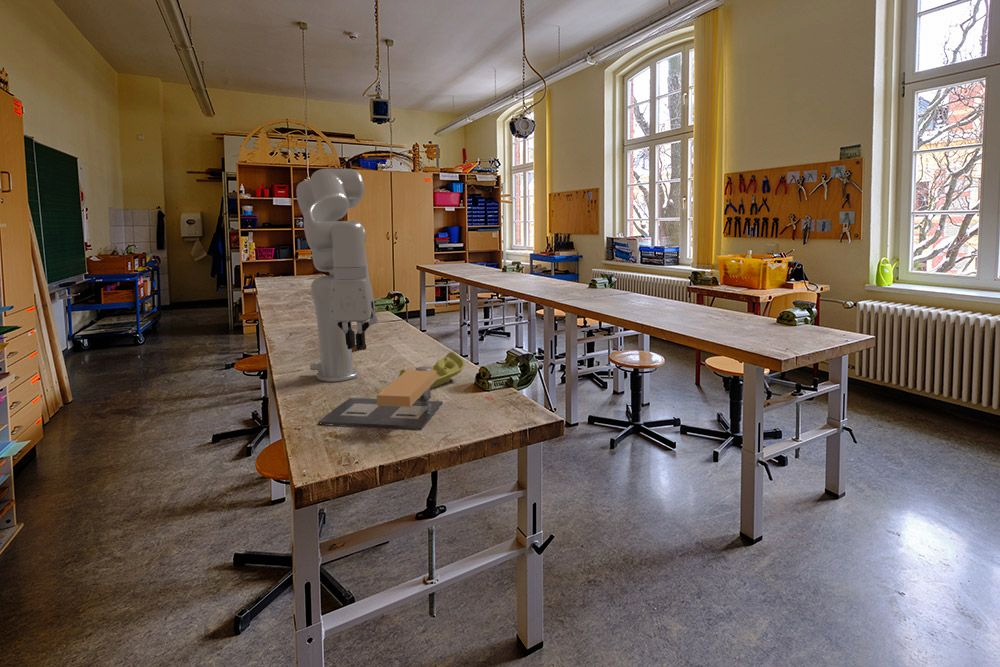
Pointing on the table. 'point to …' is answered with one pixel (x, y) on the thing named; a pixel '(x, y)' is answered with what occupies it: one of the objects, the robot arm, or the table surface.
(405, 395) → the orange rectangular block
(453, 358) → the plastic component
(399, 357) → the table surface
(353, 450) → the table surface
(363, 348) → the primitive tool
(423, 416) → the label plate
